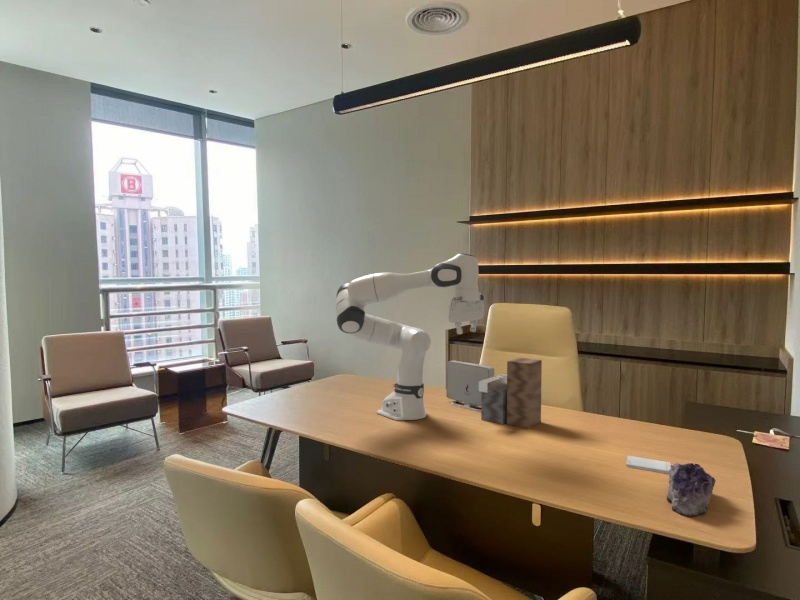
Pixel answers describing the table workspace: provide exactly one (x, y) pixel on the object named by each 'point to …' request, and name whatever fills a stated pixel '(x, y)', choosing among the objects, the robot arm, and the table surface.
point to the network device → (466, 382)
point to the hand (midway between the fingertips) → (466, 332)
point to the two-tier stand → (516, 396)
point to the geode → (689, 489)
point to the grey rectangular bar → (493, 383)
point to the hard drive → (648, 464)
